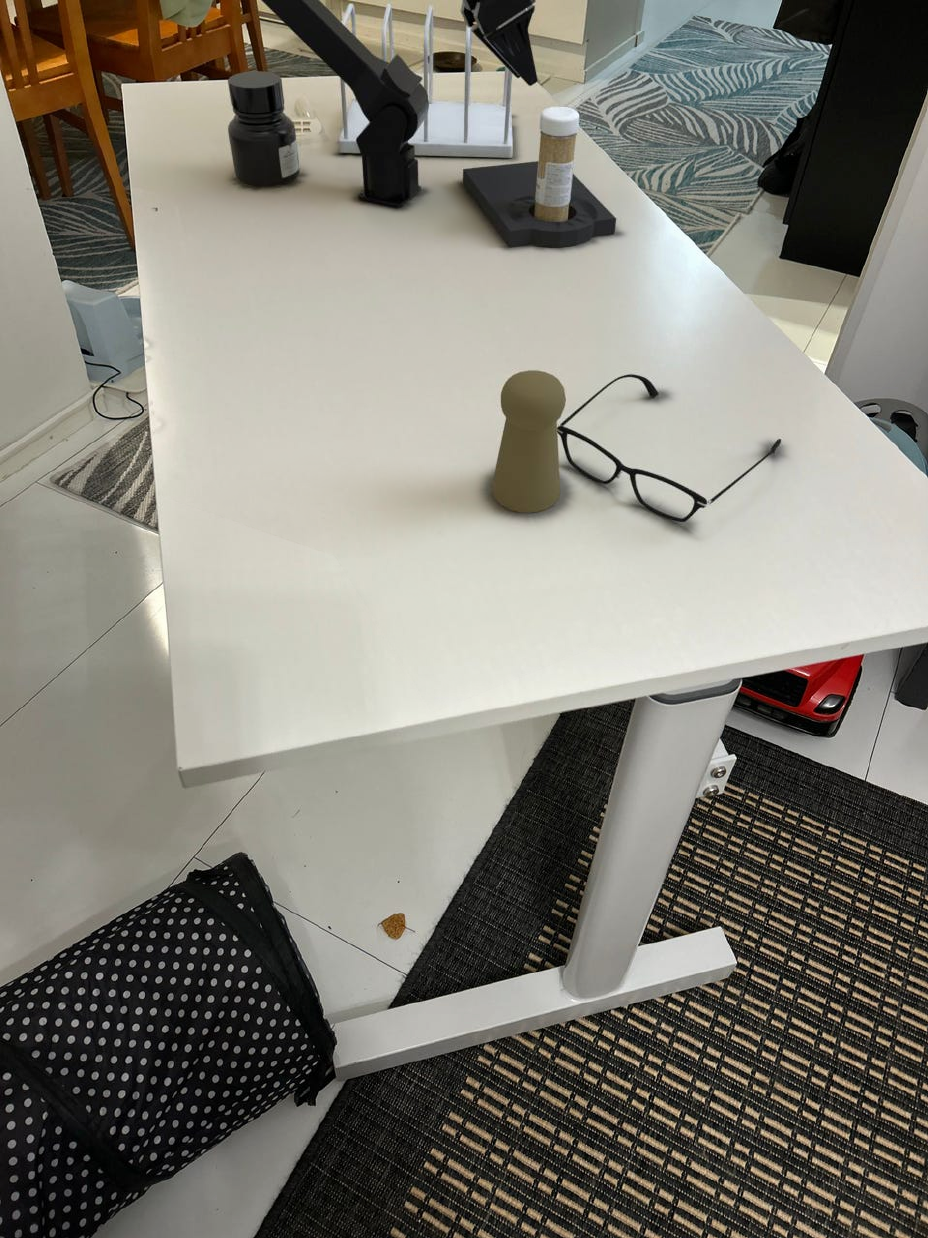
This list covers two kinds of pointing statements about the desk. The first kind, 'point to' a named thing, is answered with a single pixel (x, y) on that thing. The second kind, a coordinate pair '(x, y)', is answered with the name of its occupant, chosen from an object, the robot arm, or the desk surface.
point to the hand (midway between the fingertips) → (527, 79)
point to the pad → (513, 207)
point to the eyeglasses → (698, 499)
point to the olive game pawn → (529, 443)
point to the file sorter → (440, 110)
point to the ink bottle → (261, 131)
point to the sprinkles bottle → (555, 163)
